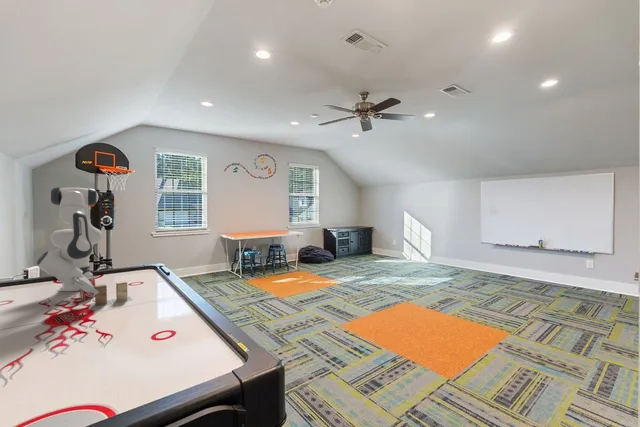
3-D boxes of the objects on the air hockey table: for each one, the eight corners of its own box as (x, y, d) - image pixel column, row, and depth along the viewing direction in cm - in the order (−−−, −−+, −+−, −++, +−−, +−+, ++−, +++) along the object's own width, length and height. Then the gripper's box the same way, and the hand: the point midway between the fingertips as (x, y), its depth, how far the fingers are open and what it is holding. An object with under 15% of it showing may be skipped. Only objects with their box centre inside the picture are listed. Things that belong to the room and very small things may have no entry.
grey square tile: (89, 304, 157) (89, 303, 157) (109, 300, 163) (109, 300, 163) (91, 308, 151) (91, 307, 151) (112, 304, 157) (112, 303, 157)
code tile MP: (110, 300, 164) (110, 299, 164) (129, 297, 170) (129, 296, 170) (113, 304, 157) (113, 303, 157) (133, 300, 164) (133, 300, 164)
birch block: (116, 299, 164) (116, 282, 163) (125, 298, 167) (125, 281, 167) (117, 301, 160) (117, 283, 160) (127, 299, 164) (127, 282, 163)
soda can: (81, 301, 163) (81, 280, 163) (78, 298, 167) (77, 278, 167) (97, 297, 169) (96, 277, 168) (93, 295, 173) (92, 275, 173)
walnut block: (95, 303, 157) (95, 285, 157) (105, 301, 160) (105, 284, 160) (96, 305, 154) (96, 287, 154) (106, 303, 157) (106, 285, 157)
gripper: (79, 274, 142) (104, 290, 149) (76, 268, 157) (99, 282, 164) (67, 285, 139) (93, 300, 146) (65, 277, 154) (89, 292, 161)
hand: (96, 291), depth 155 cm, fingers open, 8 cm apart
